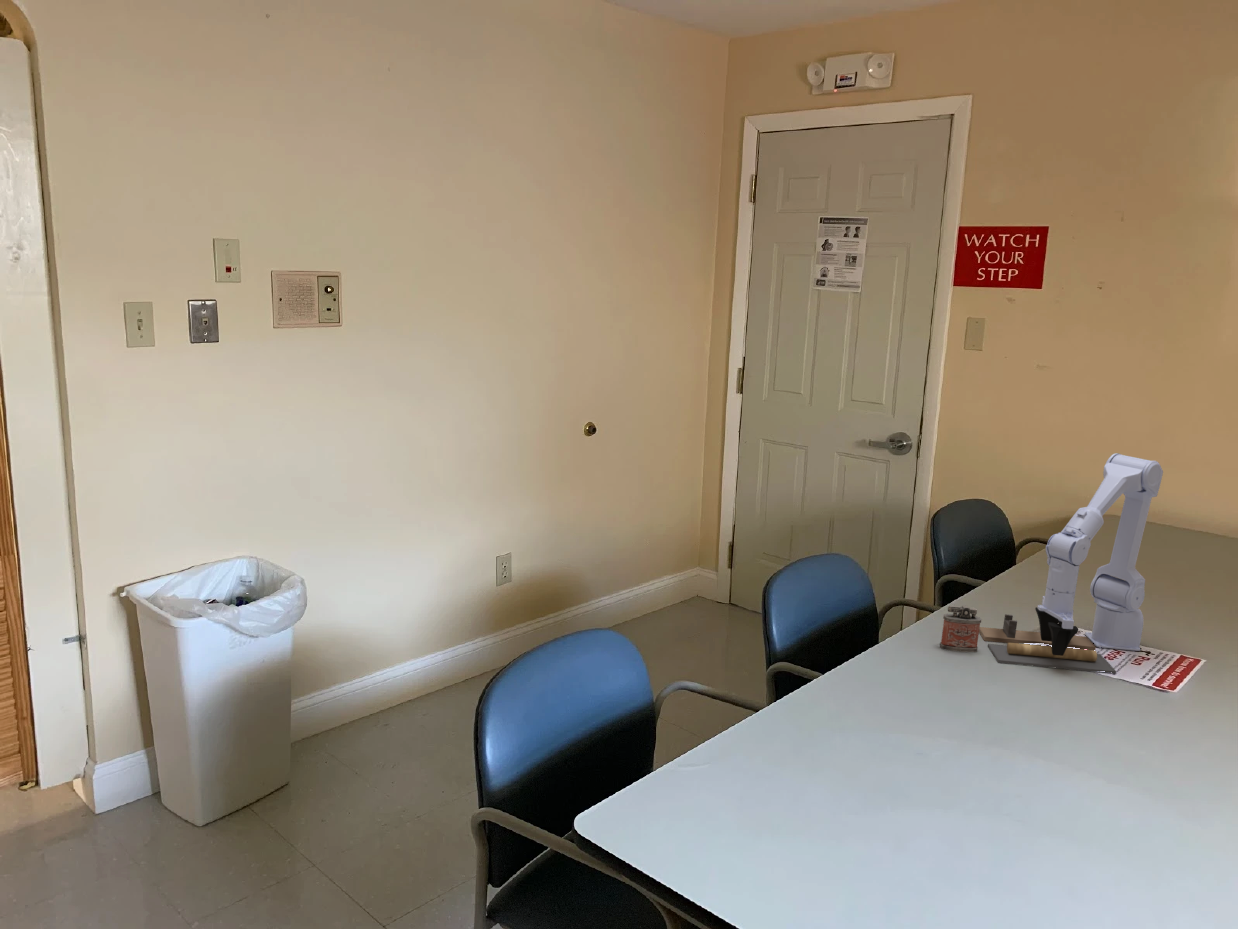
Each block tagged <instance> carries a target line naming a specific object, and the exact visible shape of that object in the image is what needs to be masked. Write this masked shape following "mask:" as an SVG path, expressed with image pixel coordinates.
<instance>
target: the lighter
mask: <svg viewBox="0 0 1238 929" xmlns="http://www.w3.org/2000/svg"><path fill="white" fill-rule="evenodd" d="M947 612H948V613H945V614H943V618H942V619H943V624H942V626H943V627H942V633H941V639H940V643H939V648H941V650H942V649H943V650H946V651H952V652H959V653H960V652H961V653H977V652H978V648H979V647H978V642H979V635H980V633H979V628H980V627H981V623H982V618H981V617H979V616H977V613H978V609H977V608H976V607H968V605H965V604H964V605H961V606H959V605H949V606H947Z"/></svg>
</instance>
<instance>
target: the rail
mask: <svg viewBox="0 0 1238 929" xmlns="http://www.w3.org/2000/svg"><path fill="white" fill-rule="evenodd" d="M1006 645H1007V653H1008V654H1018V655H1029V656H1039V657H1050V658H1061V659H1071V660H1082V661H1092V662H1096V660H1097V654H1098V652H1097V650H1095V651H1094V650H1084V649H1073V648H1066V651H1065V653H1064V655H1063V656H1060V655H1053V654H1052V647H1051V646H1041V645H1030V644H1019V643H1006Z"/></svg>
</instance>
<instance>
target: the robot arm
mask: <svg viewBox="0 0 1238 929" xmlns="http://www.w3.org/2000/svg"><path fill="white" fill-rule="evenodd" d="M1102 474H1103V480H1102V481H1101V483H1100V485H1099V486H1098V488H1097V489H1096V491H1095V492H1094V494H1093V496H1092V497H1091V499H1090V500H1089V503H1088V504H1087V506H1084V507H1079V508H1078V509H1077V510H1076V512H1075V513H1074V514H1073V516H1072V517H1071V518H1070V519H1069V521H1068V522H1067V523H1066V525H1064V527H1063V529H1062V530H1061V531H1060V532H1057V533H1054V534H1052V535H1051V536H1050V537H1049V539H1048V540H1047V544H1046V545H1045V554H1046V557H1047V559H1046V563H1047V565H1048V573H1047V580H1046V585H1045V586H1046V587H1045V594H1044V595H1043V596H1042V600H1041V604H1037V607H1035V608H1034V610H1035V613H1036V614H1037V618H1038V622H1039V624H1038V625H1039V632H1040V635H1041V640H1042V641H1051V642H1052V654H1053V655H1060V656H1063V655H1064V653H1065V651H1066V648H1067V646H1068V644H1069V642H1070V640H1071V639H1072V638H1073V636H1076V635H1077V634H1078V632H1079V628H1078V627H1077V626H1076V625H1074V624H1075V620H1074V603H1075V597H1076V590H1077V582H1078V578H1079V577H1078V576H1079V572H1080V571H1079V570H1080V565H1081V564H1082V563H1083V562H1084V561H1085V560H1086V559H1087V557H1088V554H1089V551H1090V548H1091V545H1092V543H1091V541H1092V540H1093V538H1094V537H1095V536H1096V535H1097V534H1098V532H1099V530H1101V528H1102V526H1103V525H1104V524H1105V521H1104V520H1105V519H1104V518H1103V516H1104V515H1105V514H1106V513H1107V512H1108V511H1109V509H1110V508H1111V507H1112V506H1113V505H1114V504H1115V503H1116V502H1117V501H1118V499H1119V498H1120V497H1121V496H1122V495H1124V501H1123V505H1122V506H1123V507H1122V510H1121V514H1120V517H1119V522H1118V526H1117V531H1116V535H1115V538H1114V543H1113V548H1112V551H1111V556H1110V560H1109V563H1107V564H1104V565H1101V566H1099V567H1098V568H1096V573H1095V575H1094V577H1093V579H1091V580H1092V581H1091V582H1090V587H1089V592H1090V595H1091V596H1092V598H1093V603H1095V604H1096V606H1095V607H1096V608H1095V611H1094V612H1095V613H1094V620H1093V626H1092V630H1091V632H1087V631H1086V632H1084V635H1085V637H1087V638H1088V639H1089V640H1090V641H1091V642H1092V643H1094V646H1095V647H1096V648H1101V647H1102V648H1103V649H1113V650H1114V649H1116V650H1126V651H1138V652H1140V651H1141V648H1140V644H1141V640H1142V634H1143V630H1144V629H1143V628H1144V614H1143V612H1142V610H1141V609H1140V607H1141V606H1142V605H1143V602H1144V600H1145V597H1146V596H1145V593H1146V592H1145V585H1146V578H1144V576H1143V575H1141V573H1140V572H1139V571H1138V570H1137V569H1136V565H1137V560H1138V556H1139V553H1140V548H1141V544H1142V540H1143V535H1144V531H1145V527H1146V524H1147V519H1148V516H1149V511H1150V507H1151V503H1152V500H1153V498H1155V497H1158V495H1159V491H1160V488H1161V483H1162V480H1163V479H1162V478H1163V475H1164V470H1163V469H1162V466H1161V464H1160V462H1158V461H1157V460H1149V459H1145V458H1141V457H1140V458H1139V457H1134V456H1130V455H1124V454H1121V453H1116V452H1115V453H1112V454H1111V455H1110V456H1109V457H1108V459H1107V460H1106V462H1105V464H1104V466H1103V472H1102Z"/></svg>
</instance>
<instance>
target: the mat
mask: <svg viewBox="0 0 1238 929" xmlns="http://www.w3.org/2000/svg"><path fill="white" fill-rule="evenodd" d="M987 648H988V649H989V651H990V650H991V651H990V652H991V653H992V655H993V657H994V658H995V660H996V661H998V662H999V663H998V662H997V663H998V664H1008V665H1009V664H1010V665H1017V664H1023V665H1022V666H1027V665H1033V666H1032V667H1038V666H1041V667H1040V668H1048V667H1056V668H1055V669H1059V668H1064V669H1063V670H1069V669H1071V670H1070V671H1081V672H1090V671H1105V672H1112V673H1116V674H1117V670H1116V669H1114V667H1113V666H1112V665H1111V664H1110V663H1109V662H1108V660H1106V658H1105V657H1104V656H1103V655H1102V654H1101V653H1097V660H1096V662H1092V661H1082V660H1071V659H1061V658H1050V657H1039V656H1029V655H1018V654H1008V653H1007V644H997V643H995V644H994V643H988V644H987Z"/></svg>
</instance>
